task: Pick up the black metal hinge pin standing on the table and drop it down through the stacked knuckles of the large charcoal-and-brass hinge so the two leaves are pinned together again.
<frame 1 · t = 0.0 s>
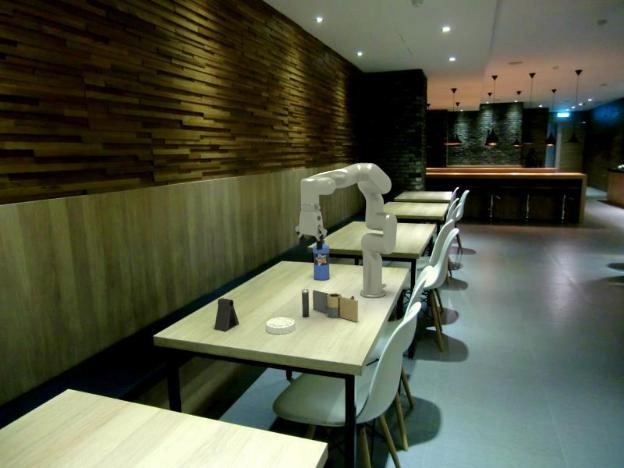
hand: (311, 248, 185), 31 cm above the table, tool pointing down, fingers open, 9 cm apart
hinge base: (334, 315, 194), on the table
water bottle: (321, 279, 254), on the table
mooncake: (280, 329, 180), on the table
hinge pin: (305, 316, 193), on the table
hinge leaf: (342, 307, 190), point 5 cm above the table, hinge at 0.0°
pliers: (337, 305, 209), on the table
phone stand: (227, 327, 183), on the table
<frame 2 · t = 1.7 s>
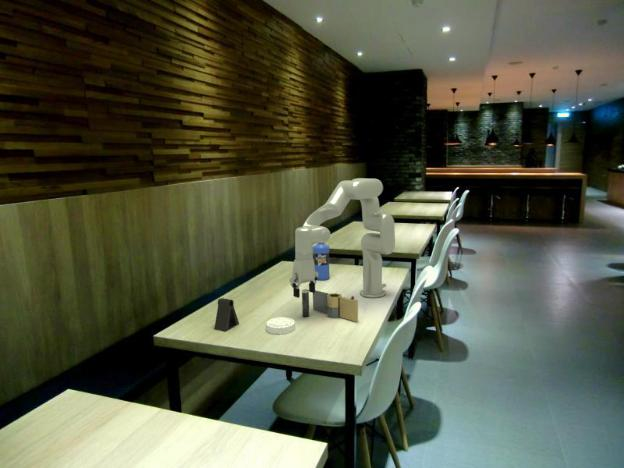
hand: (304, 294, 191), 10 cm above the table, tool pointing down, fingers open, 9 cm apart
nothing on the table moved.
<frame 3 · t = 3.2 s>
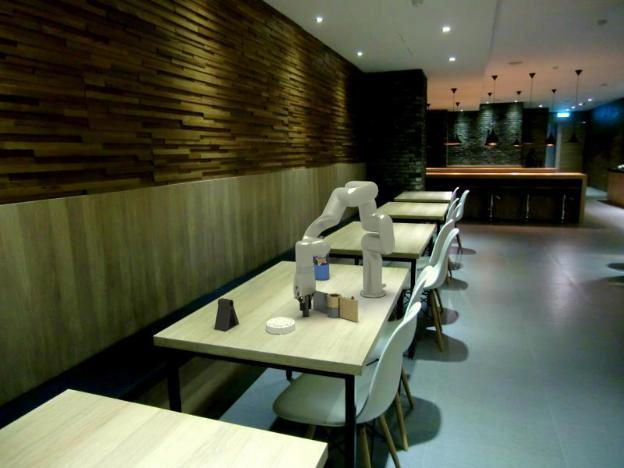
hand: (305, 309, 193), 3 cm above the table, tool pointing down, fingers closed on hinge pin, 3 cm apart
hinge pin: (305, 316, 193), on the table, touching gripper
everything else where it was.
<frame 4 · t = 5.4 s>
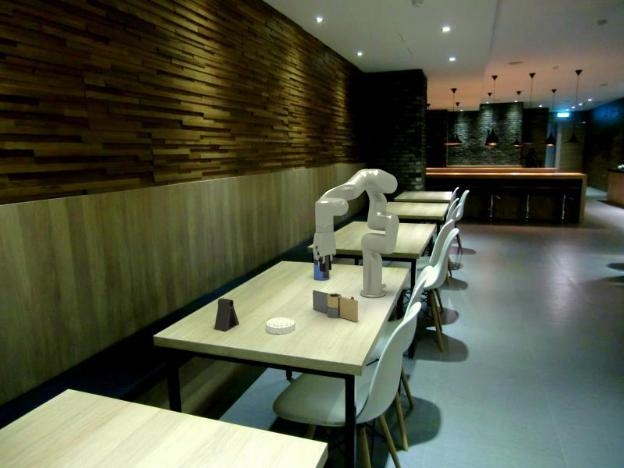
hand: (325, 270, 190), 21 cm above the table, tool pointing down, fingers closed on hinge pin, 3 cm apart
hinge pin: (325, 277, 191), point 17 cm above the table, touching gripper
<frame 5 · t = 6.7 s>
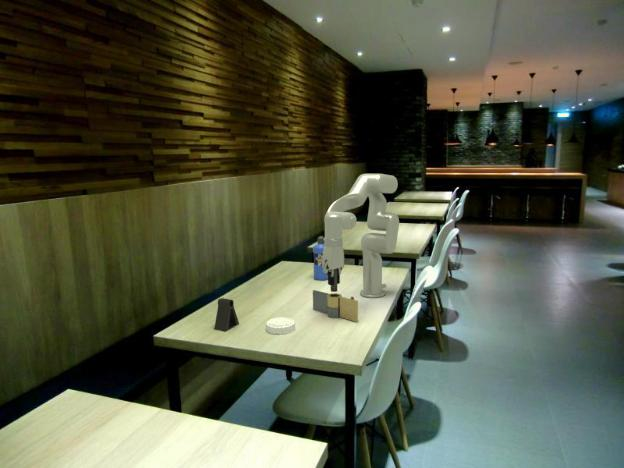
hand: (333, 283, 191), 15 cm above the table, tool pointing down, fingers closed on hinge pin, 3 cm apart
hinge pin: (334, 290, 192), point 11 cm above the table, touching gripper
when the fingers open (10 cm above the table, at t = 7.8 s): hinge pin drops 7 cm, resting in hinge base.
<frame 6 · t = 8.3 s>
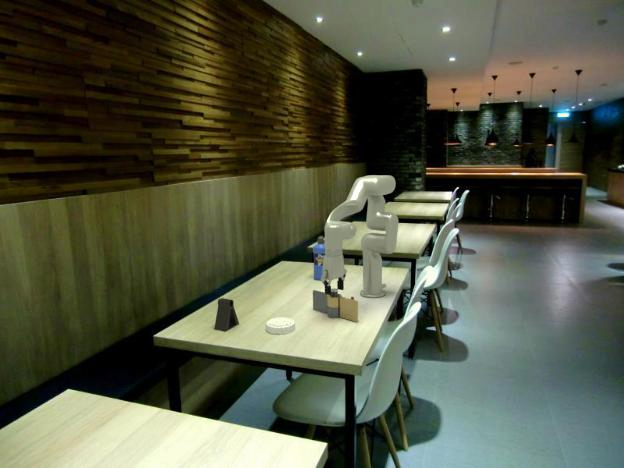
hand: (334, 291, 192), 11 cm above the table, tool pointing down, fingers open, 8 cm apart
hinge pin: (334, 315, 194), resting in hinge base
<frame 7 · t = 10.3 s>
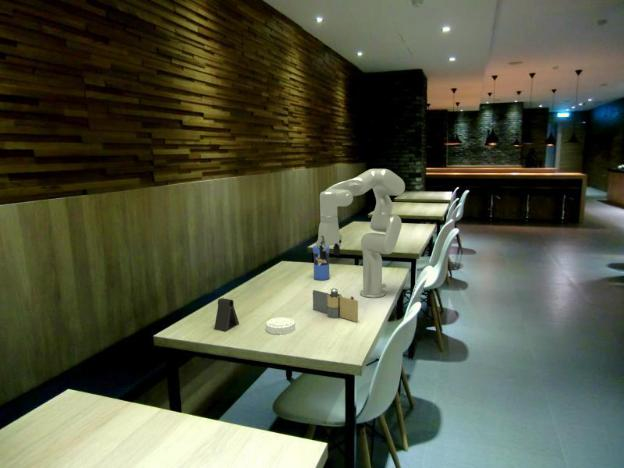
hand: (330, 257, 196), 25 cm above the table, tool pointing down, fingers open, 9 cm apart
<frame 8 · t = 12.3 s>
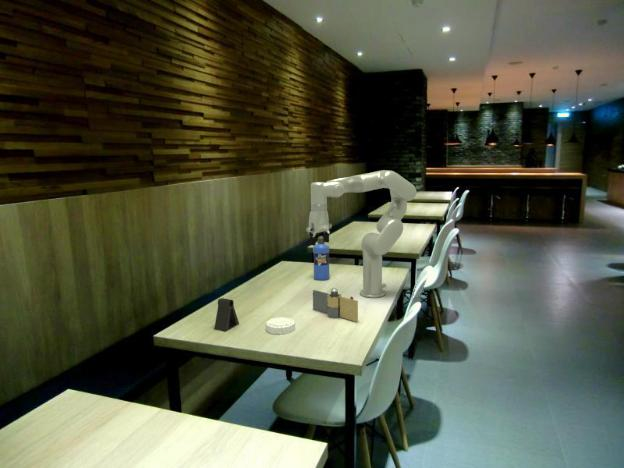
hand: (319, 243, 210), 28 cm above the table, tool pointing down, fingers open, 9 cm apart
at the end: hinge pin 0.0 cm off-centre on the hinge base, point 0.0 cm above the hinge base's base; hinge pin tilted 0°; the gripper is holding nothing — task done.
